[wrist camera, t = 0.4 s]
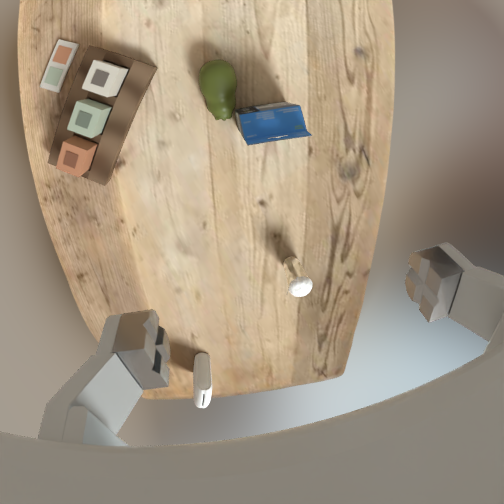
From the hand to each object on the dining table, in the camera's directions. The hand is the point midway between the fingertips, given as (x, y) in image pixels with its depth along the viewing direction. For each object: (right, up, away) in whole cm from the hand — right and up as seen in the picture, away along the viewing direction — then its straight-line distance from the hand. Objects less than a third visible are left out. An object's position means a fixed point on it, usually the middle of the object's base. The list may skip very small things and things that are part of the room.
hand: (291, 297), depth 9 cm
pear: (-6, +27, +34) cm, 44 cm away
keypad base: (-26, +24, +33) cm, 48 cm away
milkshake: (+6, -1, +54) cm, 54 cm away
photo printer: (-15, -28, +68) cm, 75 cm away
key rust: (-29, +18, +33) cm, 47 cm away
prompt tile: (-33, +33, +26) cm, 54 cm away
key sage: (-26, +23, +30) cm, 46 cm away
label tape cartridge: (+1, +24, +38) cm, 44 cm away
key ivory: (-23, +28, +28) cm, 45 cm away
